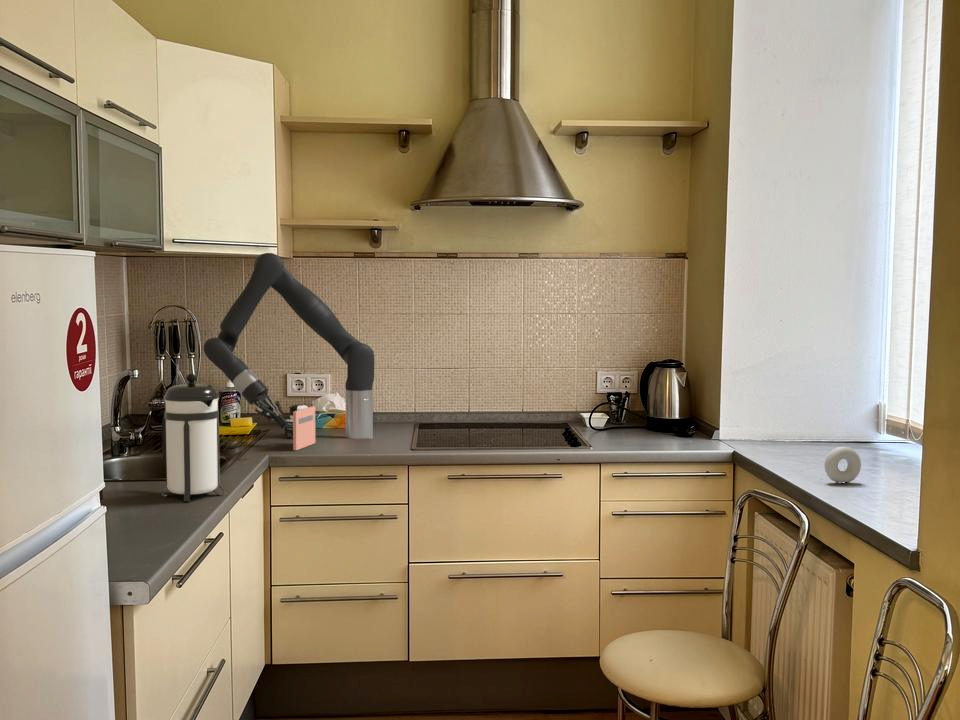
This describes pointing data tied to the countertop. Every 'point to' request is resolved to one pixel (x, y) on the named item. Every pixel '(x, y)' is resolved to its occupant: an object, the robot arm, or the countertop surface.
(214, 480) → the coffee press
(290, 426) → the medicine bottle
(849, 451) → the donut
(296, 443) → the book
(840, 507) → the countertop surface
